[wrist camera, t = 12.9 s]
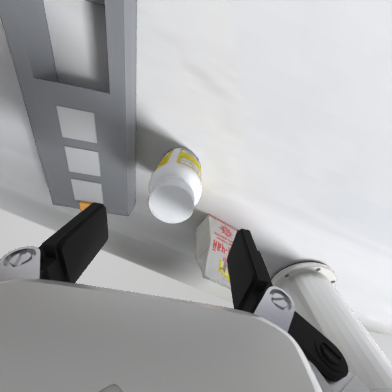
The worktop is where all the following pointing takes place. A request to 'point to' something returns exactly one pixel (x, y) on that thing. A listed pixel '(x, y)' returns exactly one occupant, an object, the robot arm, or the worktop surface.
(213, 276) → the white gable-top box
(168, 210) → the supplement bottle
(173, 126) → the worktop surface
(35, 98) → the power strip
